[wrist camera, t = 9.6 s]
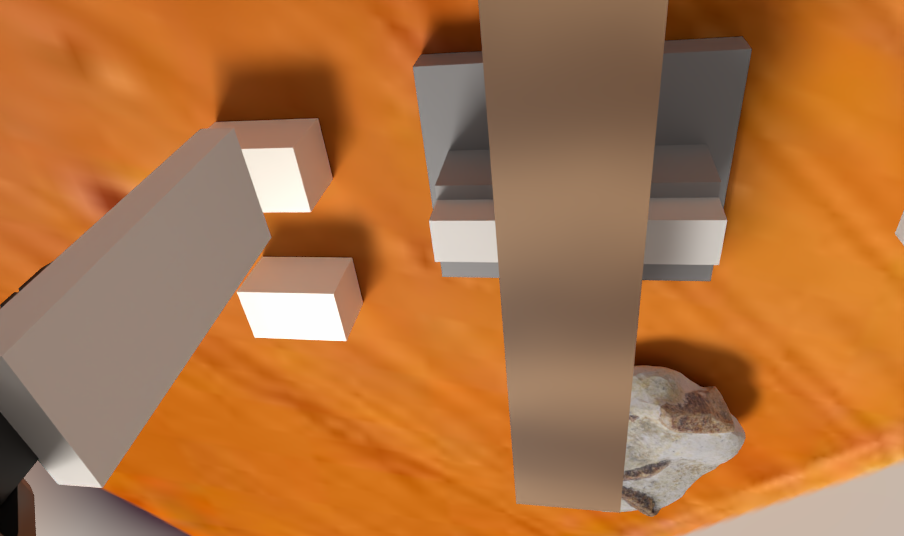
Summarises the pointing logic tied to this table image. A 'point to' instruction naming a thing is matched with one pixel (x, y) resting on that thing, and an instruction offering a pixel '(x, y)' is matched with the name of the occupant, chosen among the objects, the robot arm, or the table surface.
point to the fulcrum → (673, 175)
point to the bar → (571, 229)
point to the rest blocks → (294, 278)
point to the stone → (673, 437)
